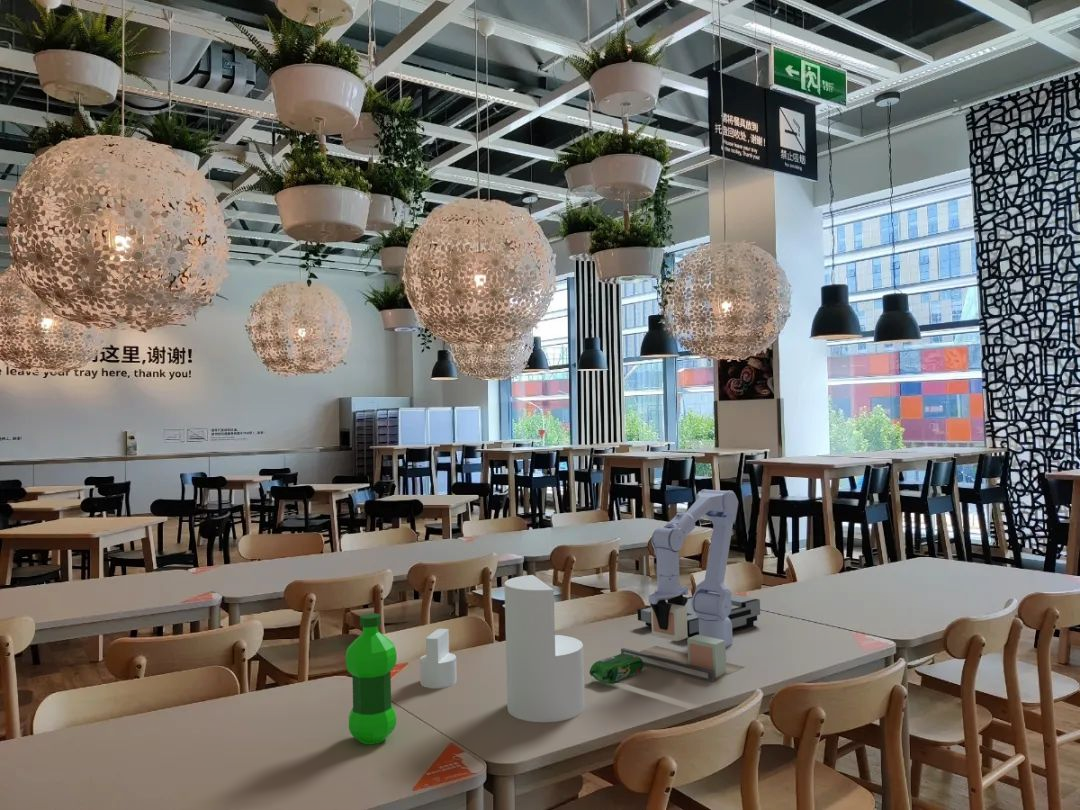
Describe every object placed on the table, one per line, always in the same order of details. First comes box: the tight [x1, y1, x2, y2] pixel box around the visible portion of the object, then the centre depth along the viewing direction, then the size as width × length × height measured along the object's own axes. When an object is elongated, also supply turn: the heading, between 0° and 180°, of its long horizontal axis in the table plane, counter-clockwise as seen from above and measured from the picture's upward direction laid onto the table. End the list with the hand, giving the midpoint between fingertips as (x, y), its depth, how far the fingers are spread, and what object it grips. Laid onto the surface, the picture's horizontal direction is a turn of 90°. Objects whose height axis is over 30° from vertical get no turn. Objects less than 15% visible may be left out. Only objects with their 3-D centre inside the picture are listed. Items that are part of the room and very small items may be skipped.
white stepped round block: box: [504, 574, 585, 723], centre depth 171 cm, size 17×17×28 cm
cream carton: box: [651, 603, 689, 642], centre depth 197 cm, size 5×8×8 cm, turn 44°
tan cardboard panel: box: [620, 645, 745, 683], centre depth 197 cm, size 15×28×4 cm, turn 44°
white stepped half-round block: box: [419, 628, 458, 689], centre depth 189 cm, size 9×9×12 cm
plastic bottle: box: [345, 613, 397, 745], centre depth 156 cm, size 10×10×25 cm
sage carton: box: [686, 635, 727, 678], centre depth 189 cm, size 5×8×8 cm, turn 44°
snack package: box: [589, 653, 644, 685], centre depth 188 cm, size 7×16×5 cm, turn 131°
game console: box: [637, 591, 761, 638], centre depth 232 cm, size 21×32×8 cm, turn 127°
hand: (669, 627), depth 197 cm, fingers closed on cream carton, 5 cm apart
